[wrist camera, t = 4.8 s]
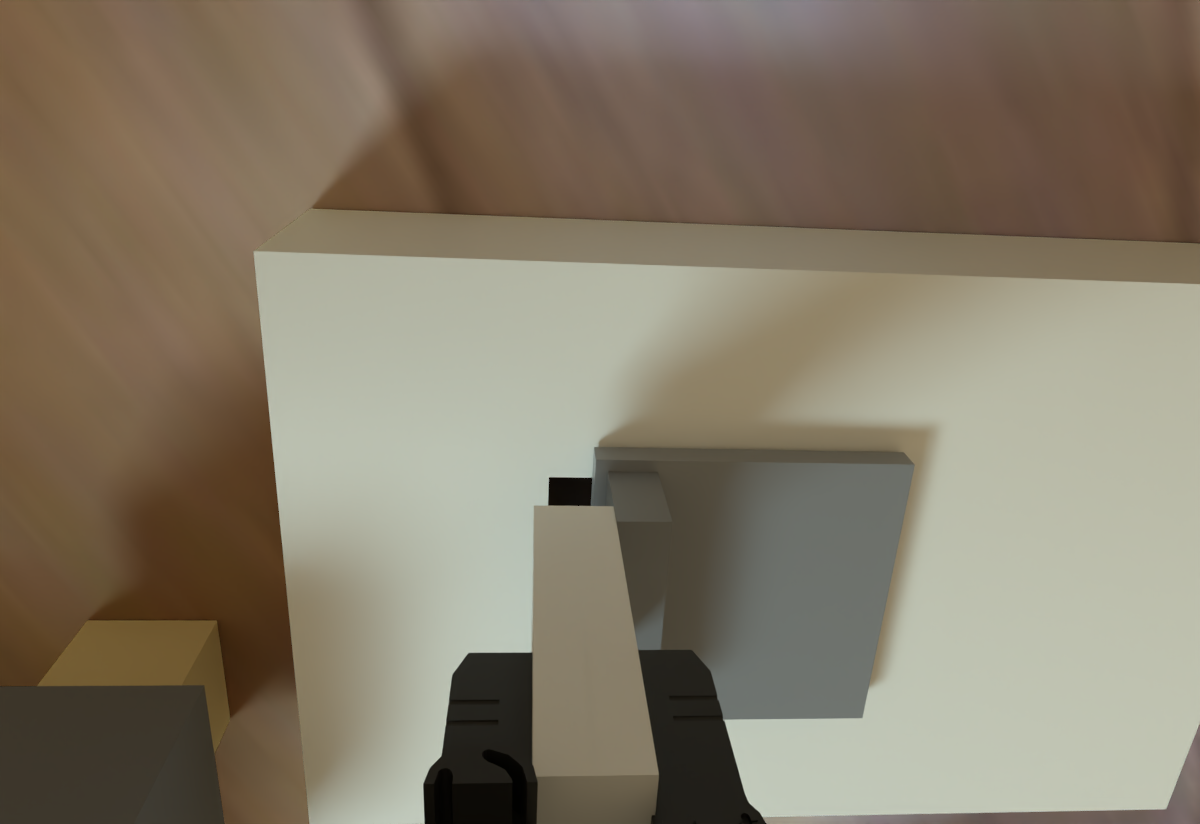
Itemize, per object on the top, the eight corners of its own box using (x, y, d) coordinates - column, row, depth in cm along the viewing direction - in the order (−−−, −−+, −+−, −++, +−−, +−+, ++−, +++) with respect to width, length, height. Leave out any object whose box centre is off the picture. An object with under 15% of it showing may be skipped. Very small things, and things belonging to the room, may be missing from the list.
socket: (345, 698, 26) (309, 825, 21) (310, 208, 20) (253, 251, 16) (1070, 693, 27) (1166, 809, 23) (1211, 243, 22) (1368, 290, 18)
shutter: (580, 702, 20) (586, 790, 18) (593, 446, 18) (603, 508, 16) (853, 700, 21) (895, 785, 19) (903, 452, 19) (958, 512, 16)
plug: (73, 750, 26) (-184, 1147, 16) (36, 585, 23) (-283, 935, 14) (272, 747, 26) (131, 1132, 17) (254, 586, 24) (81, 925, 15)
